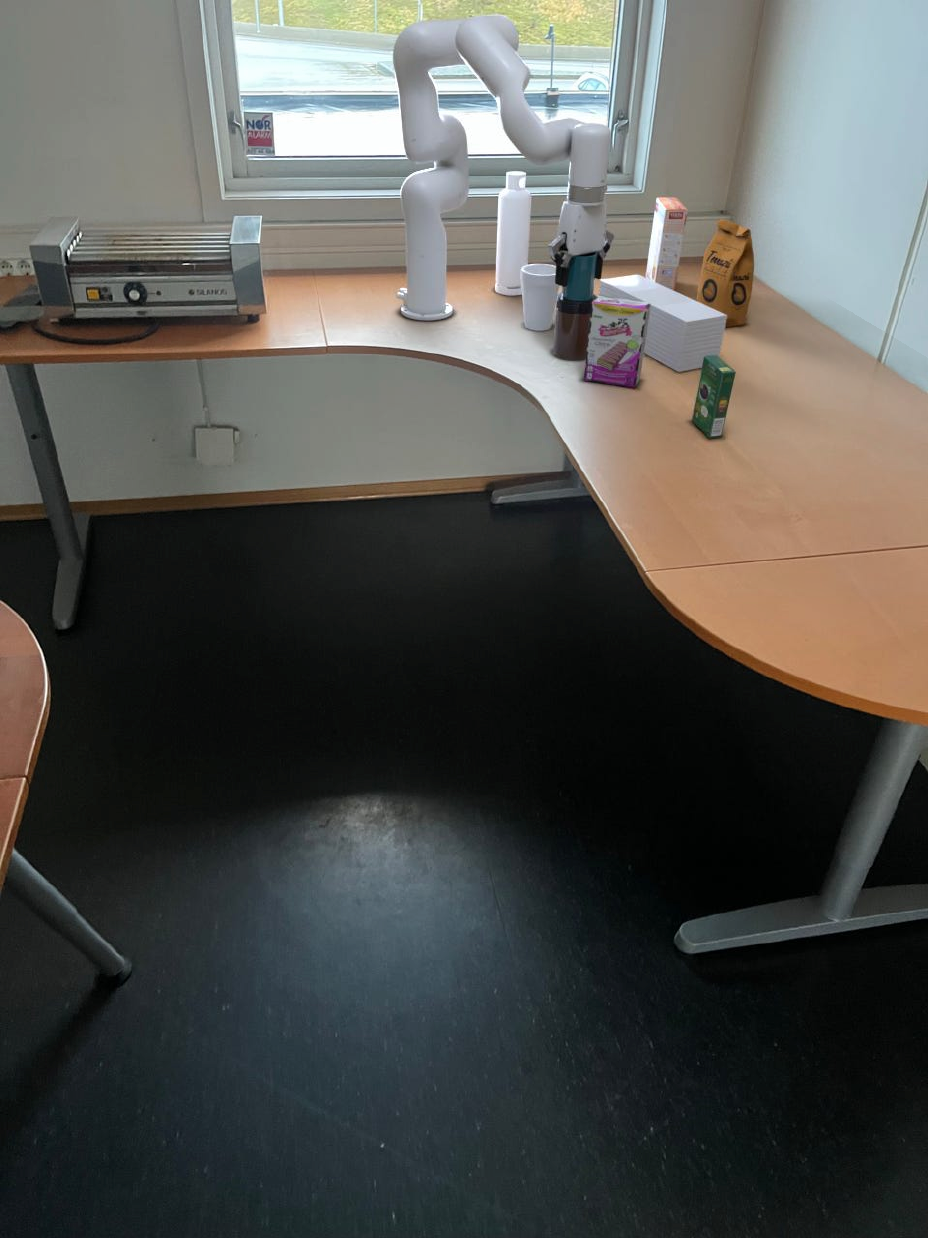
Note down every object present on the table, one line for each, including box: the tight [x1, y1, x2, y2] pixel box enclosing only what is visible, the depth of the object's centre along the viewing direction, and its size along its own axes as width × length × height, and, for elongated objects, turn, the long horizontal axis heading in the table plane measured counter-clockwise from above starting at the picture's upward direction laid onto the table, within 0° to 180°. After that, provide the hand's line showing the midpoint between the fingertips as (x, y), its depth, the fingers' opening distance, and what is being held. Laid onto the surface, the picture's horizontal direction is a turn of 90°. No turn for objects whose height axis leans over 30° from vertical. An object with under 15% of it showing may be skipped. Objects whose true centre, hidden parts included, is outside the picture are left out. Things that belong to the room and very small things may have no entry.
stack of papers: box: [598, 274, 727, 373], centre depth 205 cm, size 32×11×11 cm, turn 27°
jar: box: [552, 306, 591, 362], centre depth 199 cm, size 8×8×12 cm
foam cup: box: [520, 263, 560, 332], centre depth 213 cm, size 10×9×13 cm
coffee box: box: [691, 355, 737, 440], centre depth 168 cm, size 8×3×13 cm, turn 13°
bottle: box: [494, 170, 532, 296], centre depth 230 cm, size 8×8×28 cm
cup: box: [561, 252, 597, 301], centre depth 193 cm, size 7×7×9 cm
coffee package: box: [696, 218, 755, 328], centre depth 216 cm, size 10×12×22 cm
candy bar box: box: [583, 295, 651, 389], centre depth 185 cm, size 11×5×16 cm, turn 71°
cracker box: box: [644, 196, 688, 292], centre depth 237 cm, size 14×6×21 cm, turn 179°
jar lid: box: [555, 291, 597, 314], centre depth 196 cm, size 8×8×2 cm
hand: (578, 281), depth 193 cm, fingers open, 9 cm apart
